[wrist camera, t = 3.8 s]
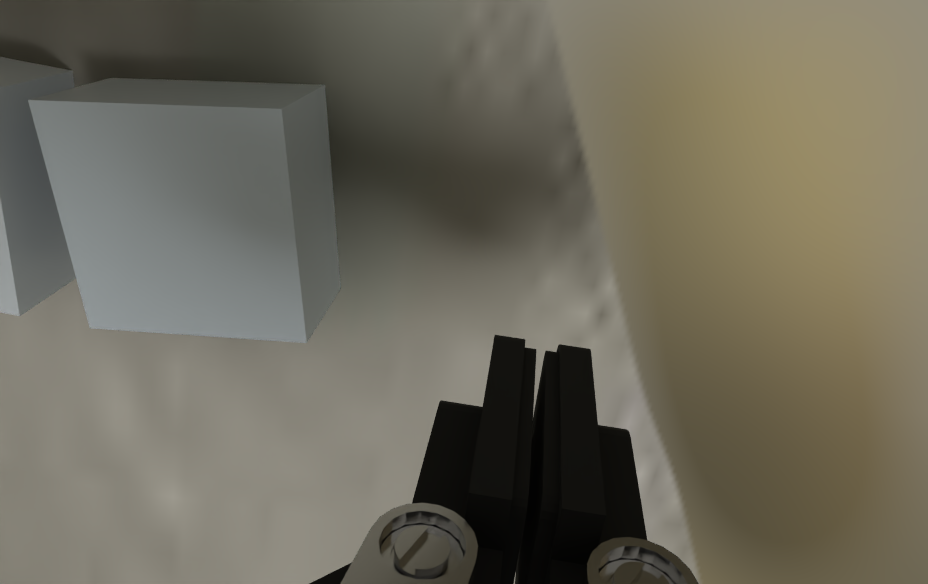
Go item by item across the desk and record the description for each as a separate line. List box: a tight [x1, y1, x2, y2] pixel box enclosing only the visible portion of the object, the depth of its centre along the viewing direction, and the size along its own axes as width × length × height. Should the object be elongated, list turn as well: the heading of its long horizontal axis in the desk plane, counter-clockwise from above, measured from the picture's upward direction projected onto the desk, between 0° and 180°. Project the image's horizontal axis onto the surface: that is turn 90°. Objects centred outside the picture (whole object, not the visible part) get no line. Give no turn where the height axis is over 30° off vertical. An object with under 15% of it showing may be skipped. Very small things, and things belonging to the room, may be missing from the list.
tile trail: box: [28, 78, 341, 343], centre depth 18 cm, size 6×6×4 cm
